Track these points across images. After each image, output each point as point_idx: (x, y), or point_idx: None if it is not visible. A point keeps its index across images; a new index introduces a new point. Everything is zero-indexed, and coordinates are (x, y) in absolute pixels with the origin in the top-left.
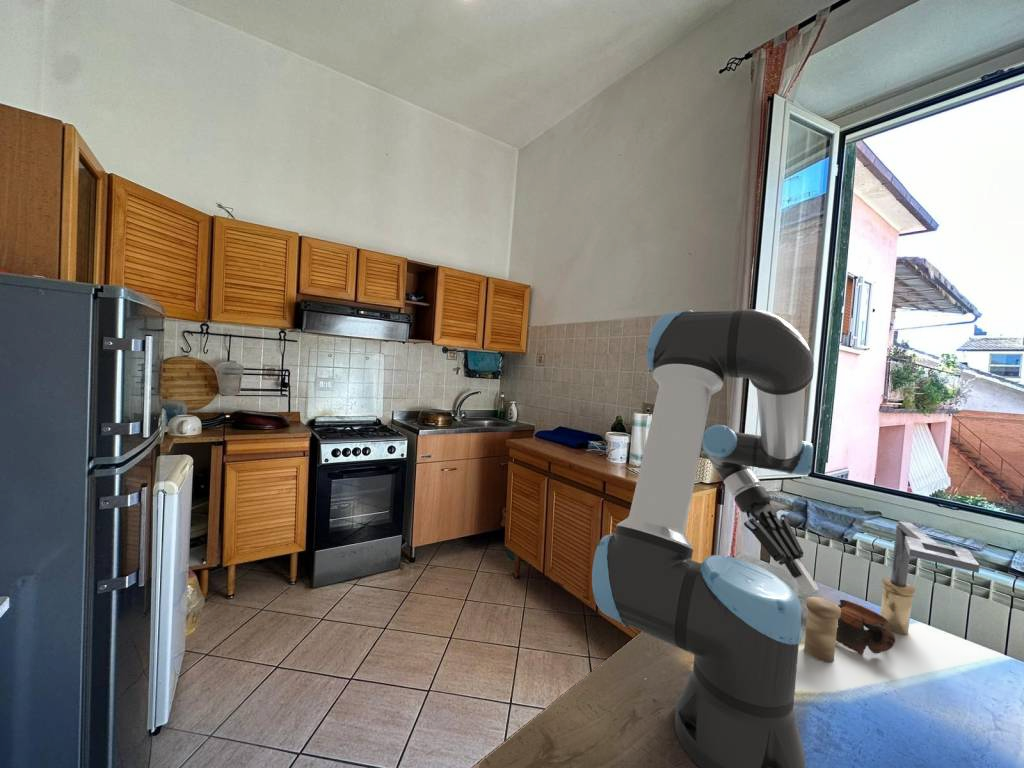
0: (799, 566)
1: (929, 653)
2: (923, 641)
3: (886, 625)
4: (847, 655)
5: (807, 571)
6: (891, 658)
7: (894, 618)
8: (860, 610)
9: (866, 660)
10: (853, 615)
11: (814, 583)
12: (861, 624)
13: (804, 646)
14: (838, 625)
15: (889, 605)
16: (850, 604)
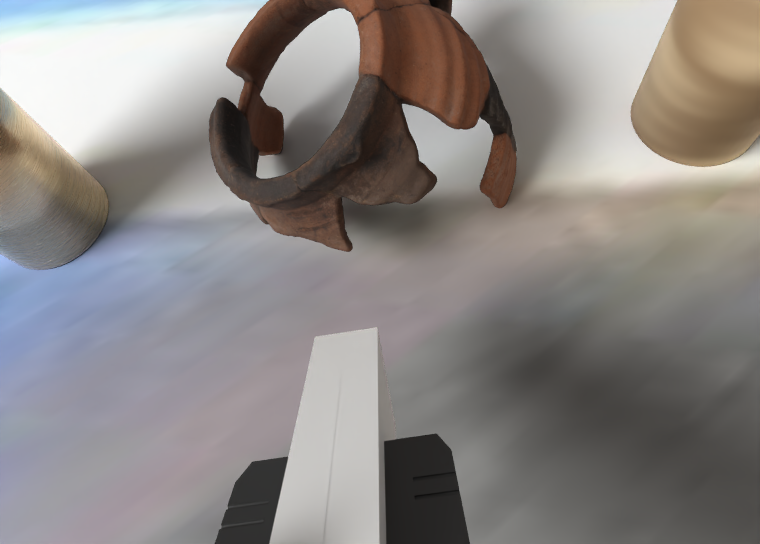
0: (378, 475)
1: (146, 74)
2: (59, 131)
3: (97, 206)
4: (547, 97)
5: (295, 434)
6: (355, 67)
7: (62, 151)
8: (387, 12)
9: (488, 67)
10: (446, 32)
11: (322, 361)
12: (448, 14)
13: (755, 139)
14: (503, 119)
15: (19, 132)
16: (391, 52)
